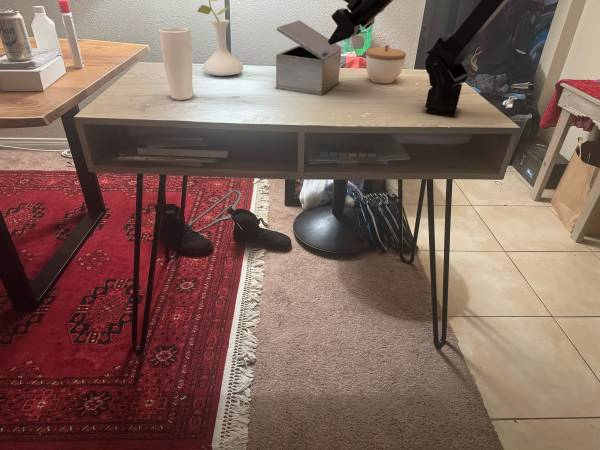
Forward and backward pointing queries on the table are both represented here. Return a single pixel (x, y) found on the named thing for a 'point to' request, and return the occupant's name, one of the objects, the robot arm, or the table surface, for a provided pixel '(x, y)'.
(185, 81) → the drinking glass
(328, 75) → the tin
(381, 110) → the table surface
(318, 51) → the lid
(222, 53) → the flower in vase
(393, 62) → the trinket box
